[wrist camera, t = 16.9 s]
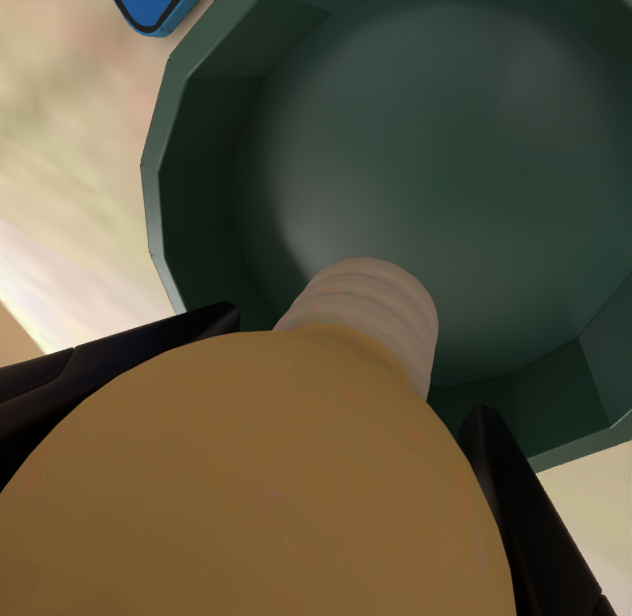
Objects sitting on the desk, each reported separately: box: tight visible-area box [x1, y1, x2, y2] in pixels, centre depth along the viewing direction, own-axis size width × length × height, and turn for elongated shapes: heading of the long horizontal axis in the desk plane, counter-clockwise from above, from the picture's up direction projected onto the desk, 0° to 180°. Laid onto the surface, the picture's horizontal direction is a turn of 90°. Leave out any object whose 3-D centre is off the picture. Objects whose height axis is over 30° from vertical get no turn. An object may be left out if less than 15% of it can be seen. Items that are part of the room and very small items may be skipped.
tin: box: [140, 0, 632, 473], centre depth 13 cm, size 16×16×5 cm
